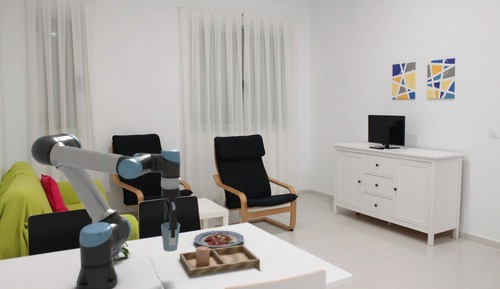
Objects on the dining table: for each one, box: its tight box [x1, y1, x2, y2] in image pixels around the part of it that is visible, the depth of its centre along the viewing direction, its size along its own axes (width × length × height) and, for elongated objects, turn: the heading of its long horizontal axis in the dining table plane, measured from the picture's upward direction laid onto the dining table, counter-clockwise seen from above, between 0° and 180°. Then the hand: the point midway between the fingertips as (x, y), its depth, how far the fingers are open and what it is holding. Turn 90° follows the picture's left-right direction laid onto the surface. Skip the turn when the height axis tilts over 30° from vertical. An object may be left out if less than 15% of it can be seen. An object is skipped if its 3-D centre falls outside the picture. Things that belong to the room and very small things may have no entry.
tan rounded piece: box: [195, 245, 211, 267], centre depth 179 cm, size 6×6×7 cm
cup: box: [160, 222, 181, 252], centre depth 168 cm, size 8×8×10 cm
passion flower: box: [112, 242, 131, 260], centre depth 188 cm, size 11×11×12 cm
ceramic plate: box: [193, 230, 245, 248], centre depth 212 cm, size 26×26×3 cm
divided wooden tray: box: [179, 244, 261, 277], centre depth 182 cm, size 31×20×4 cm, turn 112°
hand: (170, 241), depth 168 cm, fingers closed on cup, 8 cm apart
